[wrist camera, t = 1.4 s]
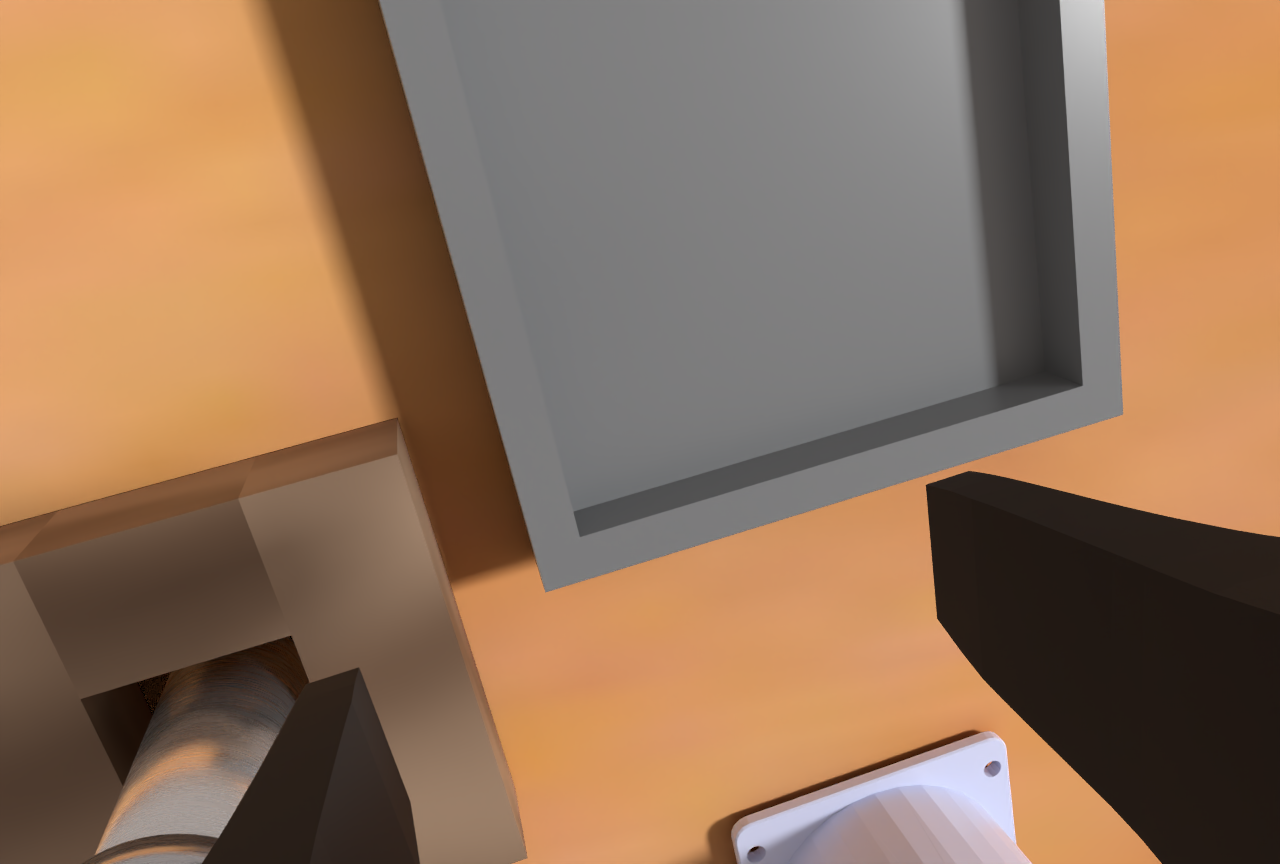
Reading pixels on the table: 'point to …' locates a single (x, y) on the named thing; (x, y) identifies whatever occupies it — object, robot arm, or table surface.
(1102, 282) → the tray
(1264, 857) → the robot arm
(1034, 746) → the table surface
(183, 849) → the pin
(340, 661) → the pin block
